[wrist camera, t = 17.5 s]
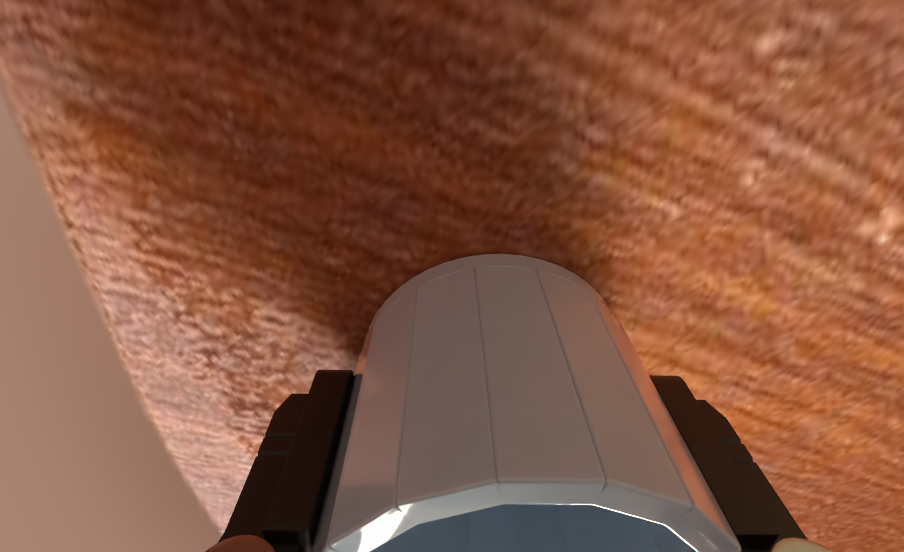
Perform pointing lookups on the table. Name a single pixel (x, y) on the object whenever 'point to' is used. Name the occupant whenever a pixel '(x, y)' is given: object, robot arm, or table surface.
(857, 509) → the table surface
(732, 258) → the table surface
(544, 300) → the gray cup
